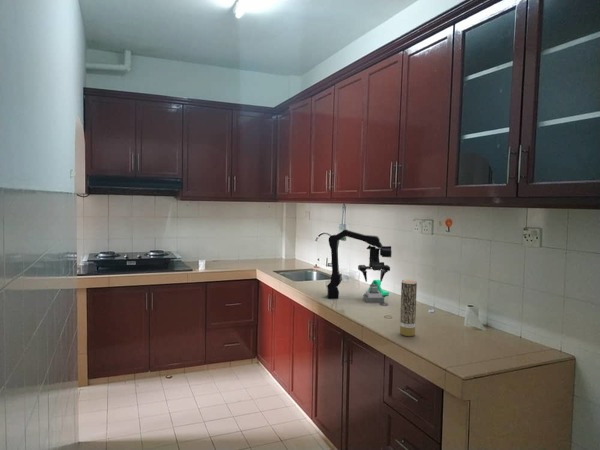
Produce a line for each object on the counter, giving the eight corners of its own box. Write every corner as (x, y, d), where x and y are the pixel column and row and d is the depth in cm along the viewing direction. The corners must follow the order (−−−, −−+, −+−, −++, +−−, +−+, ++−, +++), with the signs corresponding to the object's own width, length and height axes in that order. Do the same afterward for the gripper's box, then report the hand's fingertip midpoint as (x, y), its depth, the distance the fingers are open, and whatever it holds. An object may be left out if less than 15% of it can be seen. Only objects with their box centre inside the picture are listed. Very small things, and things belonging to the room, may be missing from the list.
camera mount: (389, 296, 263) (390, 280, 262) (381, 297, 258) (382, 281, 258) (375, 292, 273) (376, 277, 272) (367, 293, 268) (368, 278, 267)
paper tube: (417, 334, 188) (419, 281, 186) (410, 337, 183) (411, 283, 182) (404, 330, 193) (406, 279, 191) (397, 334, 188) (398, 280, 186)
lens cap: (378, 305, 239) (378, 304, 239) (381, 303, 244) (381, 302, 243) (386, 307, 237) (386, 305, 237) (389, 305, 241) (389, 303, 241)
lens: (370, 297, 246) (371, 285, 245) (368, 295, 250) (369, 284, 250) (378, 297, 246) (378, 285, 246) (376, 295, 251) (376, 284, 250)
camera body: (366, 302, 244) (366, 293, 244) (363, 299, 252) (363, 290, 252) (384, 302, 245) (384, 293, 245) (380, 299, 253) (380, 290, 253)
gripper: (362, 258, 238) (361, 284, 239) (393, 258, 240) (392, 284, 241) (358, 255, 249) (357, 280, 250) (387, 255, 251) (387, 280, 252)
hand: (373, 281), depth 248 cm, fingers open, 9 cm apart
